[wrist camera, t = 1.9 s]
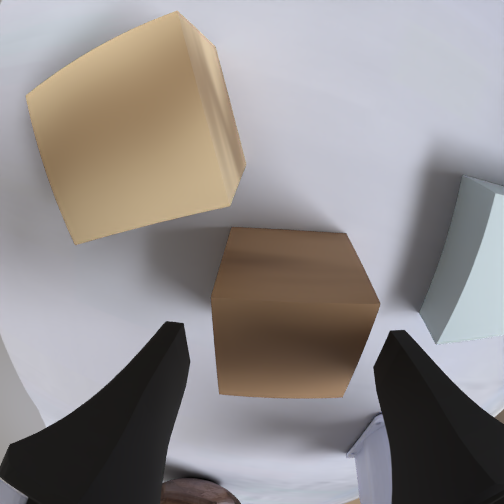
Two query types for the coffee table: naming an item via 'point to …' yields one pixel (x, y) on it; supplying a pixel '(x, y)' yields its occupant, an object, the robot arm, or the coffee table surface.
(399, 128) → the coffee table surface
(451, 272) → the slab
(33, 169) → the coffee table surface
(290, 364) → the walnut cube
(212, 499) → the wooden sphere
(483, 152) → the coffee table surface
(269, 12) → the coffee table surface
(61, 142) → the oak cube
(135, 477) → the robot arm
